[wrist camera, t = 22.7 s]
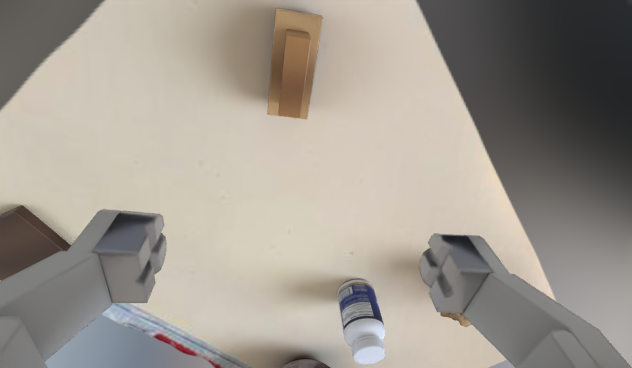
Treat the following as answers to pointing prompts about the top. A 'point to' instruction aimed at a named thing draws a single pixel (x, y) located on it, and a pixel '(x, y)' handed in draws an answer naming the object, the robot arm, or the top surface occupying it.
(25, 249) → the board
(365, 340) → the pill bottle
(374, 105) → the top surface
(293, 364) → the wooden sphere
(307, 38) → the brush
